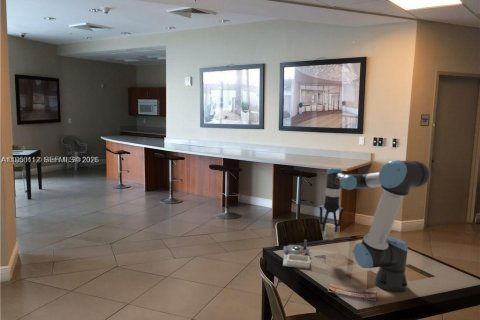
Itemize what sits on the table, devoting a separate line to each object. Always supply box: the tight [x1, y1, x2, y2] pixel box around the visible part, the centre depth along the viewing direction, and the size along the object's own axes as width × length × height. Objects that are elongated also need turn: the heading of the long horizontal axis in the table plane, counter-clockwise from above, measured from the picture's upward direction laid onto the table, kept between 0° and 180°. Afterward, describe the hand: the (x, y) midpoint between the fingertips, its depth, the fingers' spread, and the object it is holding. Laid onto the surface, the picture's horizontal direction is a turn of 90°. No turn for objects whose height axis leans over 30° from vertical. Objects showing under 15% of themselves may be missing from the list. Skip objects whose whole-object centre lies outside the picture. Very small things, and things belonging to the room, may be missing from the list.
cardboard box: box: [324, 222, 335, 241], centre depth 214 cm, size 7×4×7 cm, turn 172°
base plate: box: [282, 252, 311, 270], centre depth 218 cm, size 30×14×3 cm, turn 171°
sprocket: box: [282, 239, 311, 256], centre depth 223 cm, size 16×16×7 cm
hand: (328, 236), depth 214 cm, fingers closed on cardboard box, 4 cm apart
